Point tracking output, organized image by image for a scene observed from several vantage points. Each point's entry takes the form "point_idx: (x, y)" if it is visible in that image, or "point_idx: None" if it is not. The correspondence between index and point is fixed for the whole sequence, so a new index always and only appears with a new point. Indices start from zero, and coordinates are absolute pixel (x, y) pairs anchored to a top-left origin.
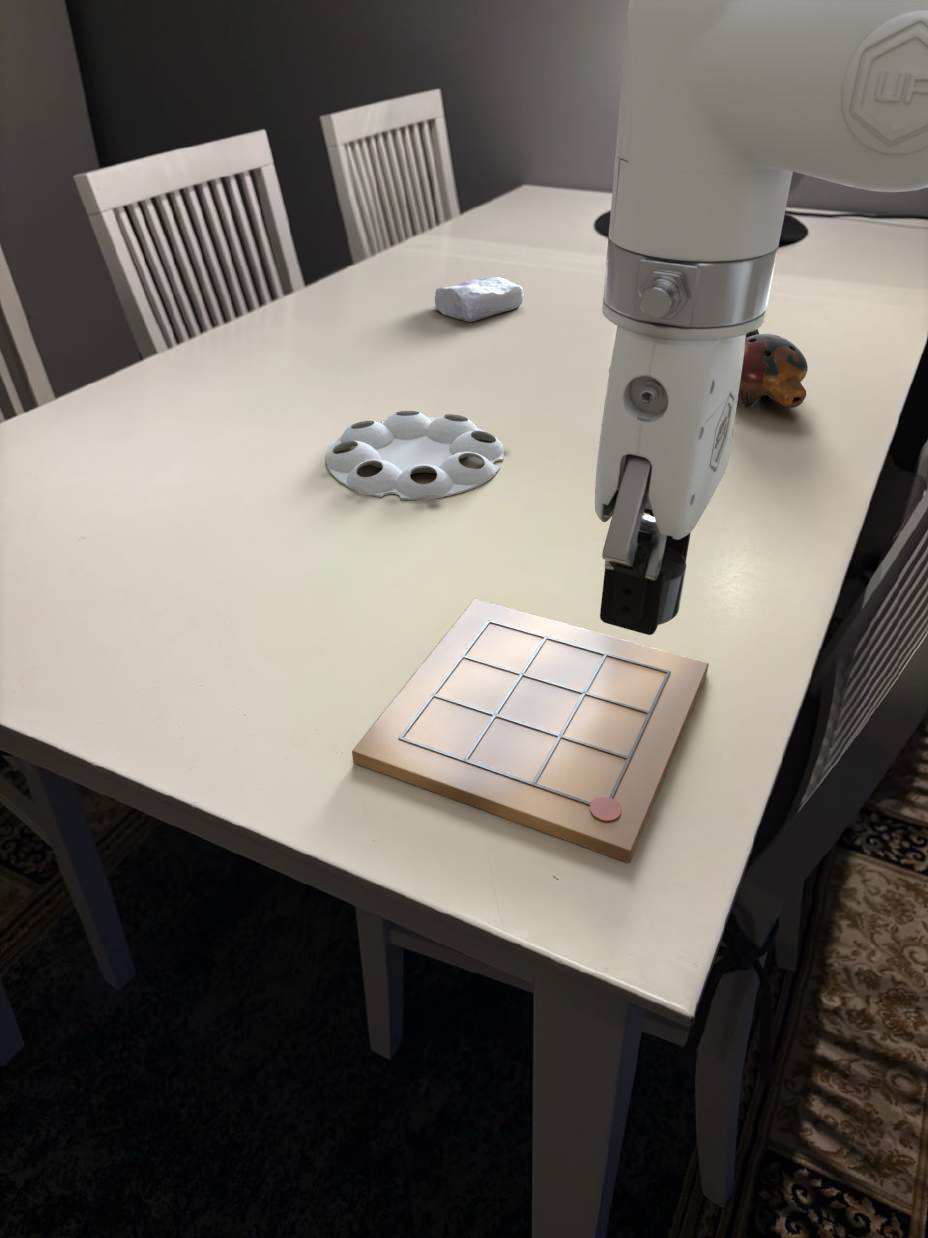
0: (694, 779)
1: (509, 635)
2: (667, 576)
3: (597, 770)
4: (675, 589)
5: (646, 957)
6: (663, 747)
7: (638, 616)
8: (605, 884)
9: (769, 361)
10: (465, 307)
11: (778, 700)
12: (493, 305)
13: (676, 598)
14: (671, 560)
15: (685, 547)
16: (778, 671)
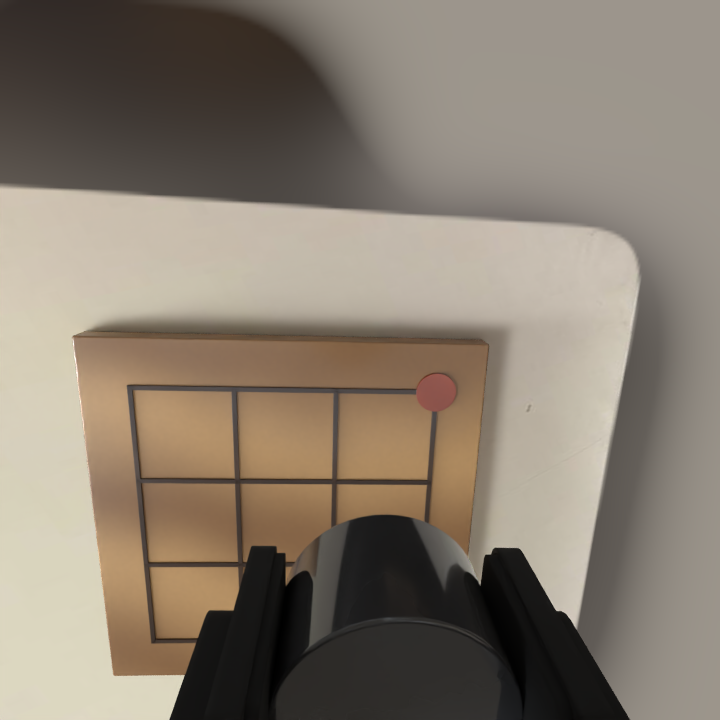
0: (311, 298)
1: (168, 607)
2: (467, 656)
3: (374, 420)
4: (450, 593)
5: (599, 286)
6: (294, 354)
7: (576, 630)
8: (519, 355)
9: None
10: None
11: (83, 213)
12: None
13: (428, 560)
14: (362, 668)
15: (256, 651)
16: (10, 224)
